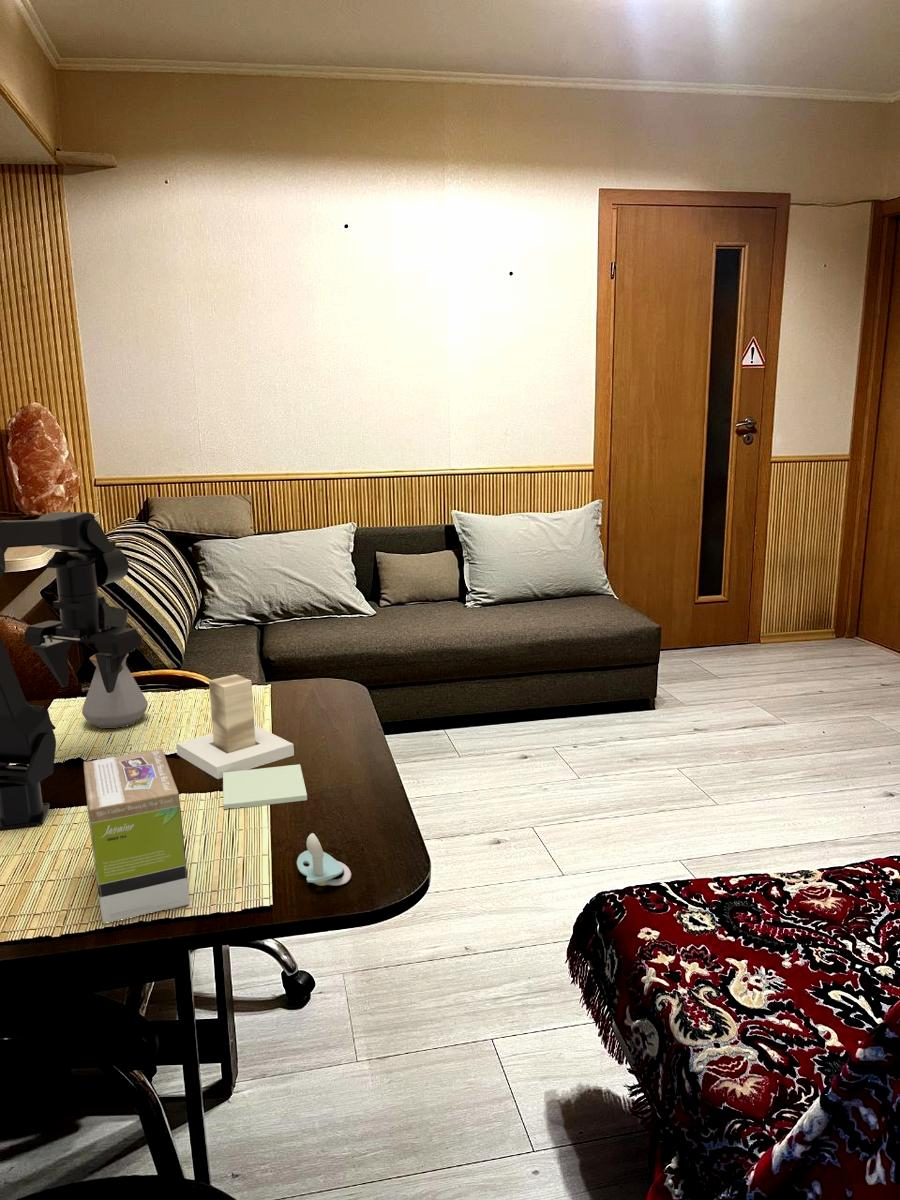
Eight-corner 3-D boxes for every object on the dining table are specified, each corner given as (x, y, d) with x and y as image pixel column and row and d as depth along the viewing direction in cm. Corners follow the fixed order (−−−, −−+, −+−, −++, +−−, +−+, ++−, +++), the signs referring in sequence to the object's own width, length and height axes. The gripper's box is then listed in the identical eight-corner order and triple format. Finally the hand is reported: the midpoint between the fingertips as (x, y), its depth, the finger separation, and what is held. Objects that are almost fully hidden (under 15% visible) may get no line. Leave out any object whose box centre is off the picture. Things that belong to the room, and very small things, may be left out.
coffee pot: (80, 717, 172) (72, 640, 169) (144, 707, 177) (137, 632, 174) (92, 756, 153) (83, 670, 150) (163, 743, 158) (155, 660, 155)
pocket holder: (294, 755, 152) (293, 744, 152) (217, 779, 143) (216, 767, 143) (251, 733, 162) (250, 722, 162) (177, 754, 153) (176, 743, 153)
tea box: (93, 867, 117) (81, 758, 114) (174, 850, 121) (165, 745, 118) (101, 927, 103) (87, 806, 100) (192, 907, 107) (182, 789, 104)
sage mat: (307, 800, 135) (306, 795, 135) (223, 809, 132) (223, 804, 132) (300, 768, 147) (300, 764, 146) (223, 777, 144) (222, 772, 144)
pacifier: (337, 860, 118) (293, 871, 115) (336, 815, 117) (291, 824, 114) (360, 886, 112) (313, 897, 109) (359, 838, 110) (312, 849, 108)
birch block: (256, 755, 153) (251, 680, 150) (229, 763, 149) (223, 687, 146) (241, 747, 156) (236, 674, 153) (214, 755, 153) (208, 680, 150)
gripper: (161, 587, 146) (168, 681, 149) (70, 580, 153) (79, 670, 156) (111, 600, 136) (120, 701, 139) (17, 592, 143) (27, 688, 146)
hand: (87, 689), depth 145 cm, fingers open, 9 cm apart
